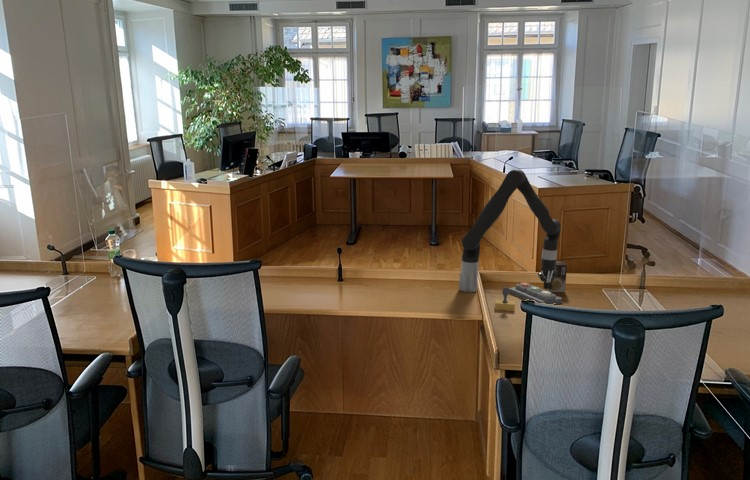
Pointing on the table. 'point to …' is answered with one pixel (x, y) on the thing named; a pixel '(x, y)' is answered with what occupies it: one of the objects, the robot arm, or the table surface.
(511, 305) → the rubber stamp
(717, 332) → the table surface
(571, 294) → the table surface
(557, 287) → the coffee box
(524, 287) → the terracotta button
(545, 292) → the cream button
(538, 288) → the sage button
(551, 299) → the console
